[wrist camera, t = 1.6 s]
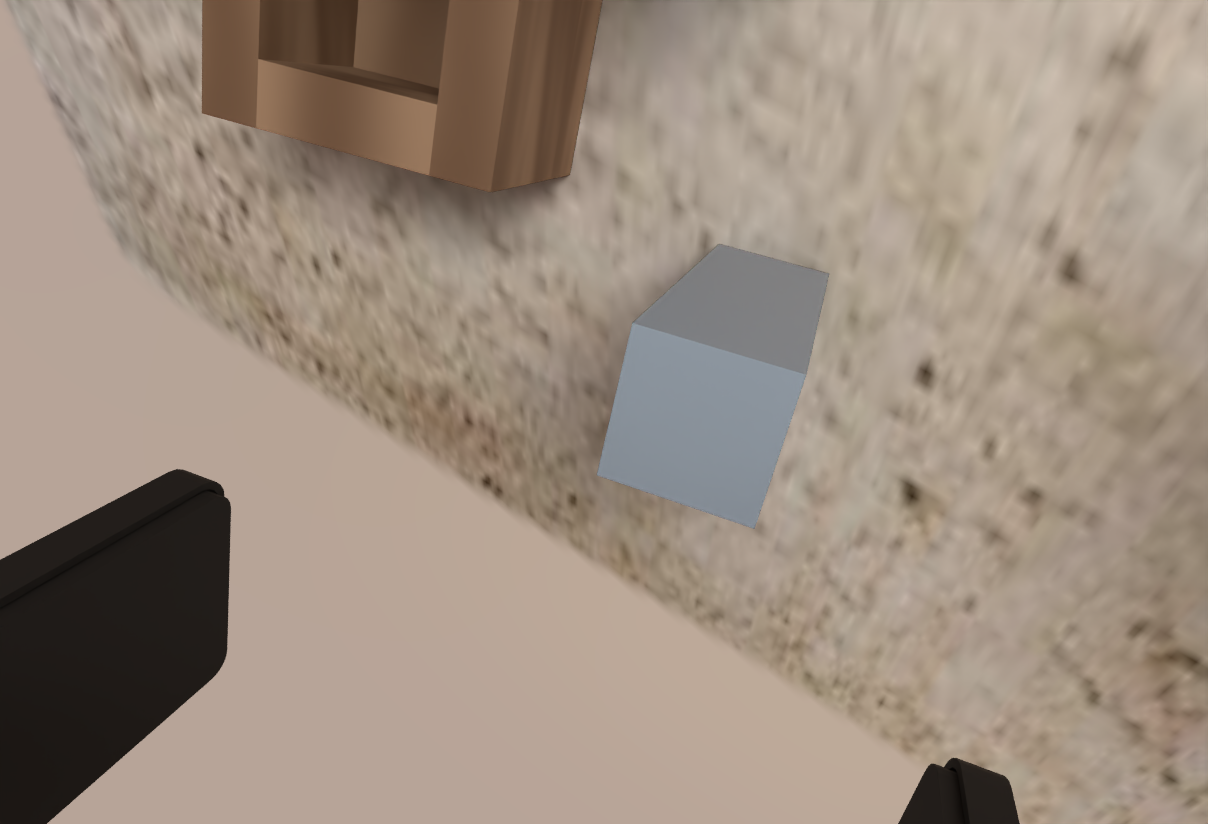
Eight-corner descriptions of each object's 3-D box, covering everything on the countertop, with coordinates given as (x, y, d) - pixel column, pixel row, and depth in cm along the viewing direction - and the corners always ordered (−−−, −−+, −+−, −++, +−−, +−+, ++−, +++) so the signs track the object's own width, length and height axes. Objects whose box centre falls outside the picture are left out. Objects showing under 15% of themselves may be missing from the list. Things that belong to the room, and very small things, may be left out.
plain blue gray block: (829, 273, 28) (806, 375, 17) (794, 377, 30) (754, 528, 19) (719, 244, 29) (632, 322, 18) (691, 346, 31) (596, 475, 20)
